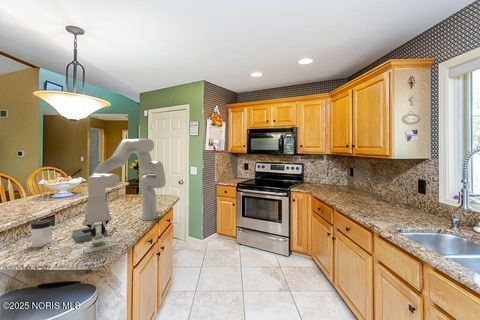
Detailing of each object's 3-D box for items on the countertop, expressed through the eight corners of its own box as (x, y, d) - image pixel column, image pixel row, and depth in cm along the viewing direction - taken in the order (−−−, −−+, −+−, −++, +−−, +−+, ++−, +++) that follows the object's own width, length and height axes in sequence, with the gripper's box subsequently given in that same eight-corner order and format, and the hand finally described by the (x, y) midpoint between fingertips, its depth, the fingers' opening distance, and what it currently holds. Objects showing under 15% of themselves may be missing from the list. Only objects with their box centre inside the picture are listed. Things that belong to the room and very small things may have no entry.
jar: (26, 248, 116) (25, 224, 115) (37, 242, 124) (36, 220, 123) (47, 246, 118) (46, 223, 117) (56, 240, 126) (55, 218, 125)
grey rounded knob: (102, 238, 122) (102, 222, 122) (106, 241, 118) (105, 224, 118) (90, 241, 118) (90, 224, 118) (93, 245, 114) (93, 227, 114)
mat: (109, 239, 127) (109, 237, 127) (117, 245, 119) (117, 244, 119) (79, 246, 117) (79, 245, 117) (85, 254, 109) (85, 252, 109)
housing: (100, 231, 140) (100, 224, 140) (107, 237, 130) (107, 230, 130) (72, 237, 130) (72, 230, 130) (77, 244, 120) (77, 237, 120)
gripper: (112, 196, 126) (113, 229, 127) (76, 200, 114) (77, 237, 115) (117, 198, 120) (118, 232, 121) (79, 203, 109) (80, 241, 109)
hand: (98, 234), depth 118 cm, fingers closed on grey rounded knob, 3 cm apart
